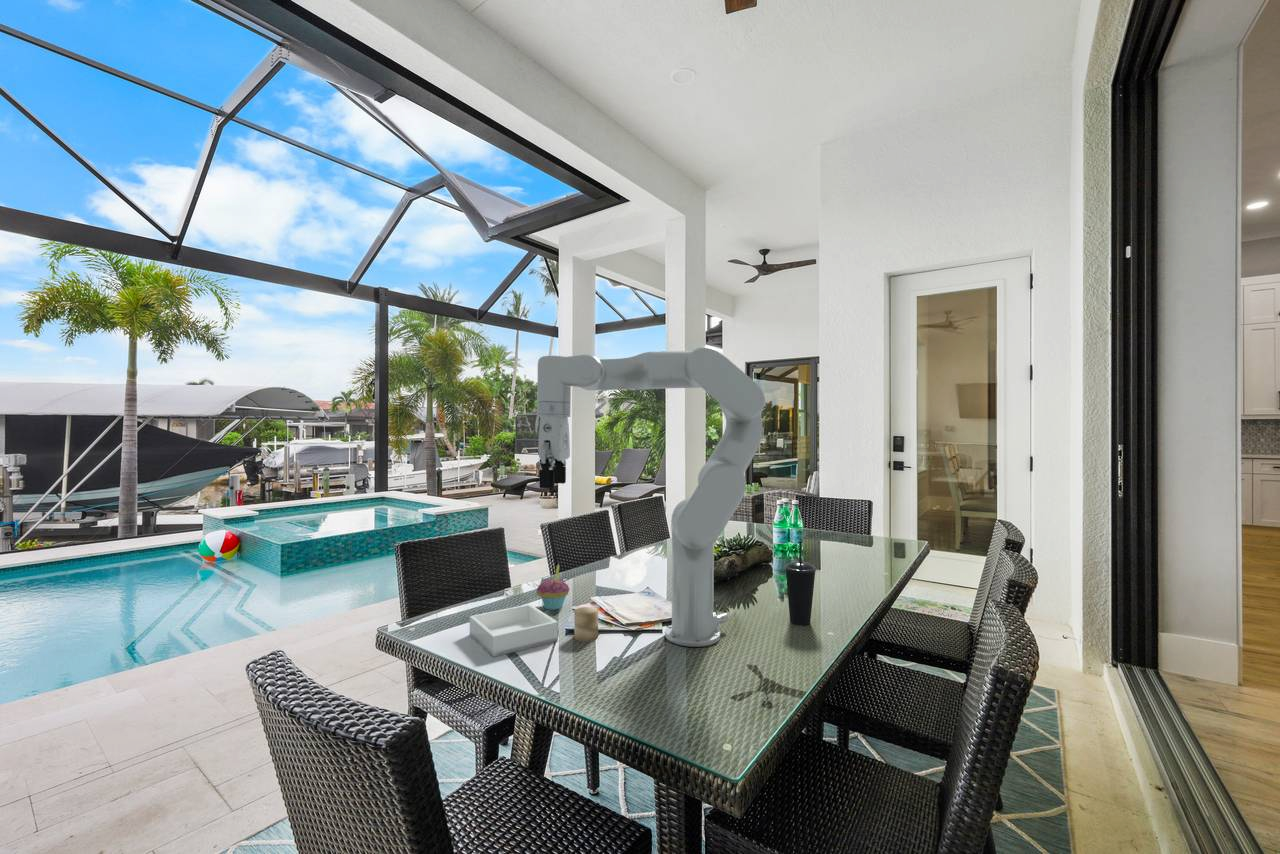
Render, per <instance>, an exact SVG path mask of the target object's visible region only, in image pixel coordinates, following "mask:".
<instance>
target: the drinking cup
mask: <svg viewBox="0 0 1280 854" xmlns="http://www.w3.org/2000/svg"><path fill="white" fill-rule="evenodd" d="M783 567H784V569H785V577H786V579H785V580H786V589H787V591H786V592H787V600H788V601H787V602H788V612H789V614H788V615H789V622H790V623H791V624H793V625H797V626H808V625H810V624H811V620H812V609H813V599H814V588H815V577H816V572H817V567H816V566H815V565H813V564H811V563H809V562H806V561H803V541H802V540H799V541H798V560H797V561H792V562H789V563H787V564H784V566H783Z"/></svg>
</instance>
